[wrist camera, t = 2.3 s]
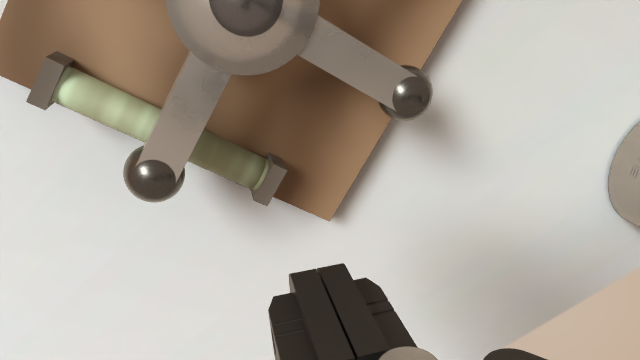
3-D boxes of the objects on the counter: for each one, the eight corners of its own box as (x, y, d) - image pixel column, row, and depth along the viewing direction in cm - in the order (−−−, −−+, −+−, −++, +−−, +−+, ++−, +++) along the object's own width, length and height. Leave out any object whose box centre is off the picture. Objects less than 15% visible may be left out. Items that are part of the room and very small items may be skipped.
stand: (476, -47, 28) (512, -50, 25) (323, 210, 31) (338, 236, 28) (140, -307, 21) (131, -358, 18) (-7, 62, 24) (-37, 74, 21)
